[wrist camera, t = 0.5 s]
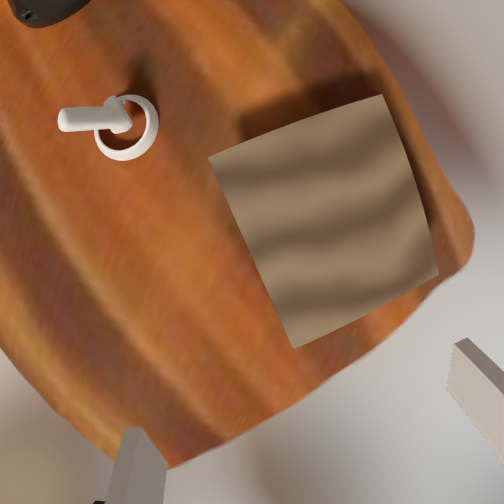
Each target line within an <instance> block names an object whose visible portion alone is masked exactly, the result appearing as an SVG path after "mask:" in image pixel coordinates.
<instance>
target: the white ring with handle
mask: <svg viewBox="0 0 504 504" xmlns="http://www.w3.org/2000/svg"><path fill="white" fill-rule="evenodd" d="M125 100H131V101H134V102H136V103H138V104H139V105H140V106H141V107H142V108H143V110H144V112H145V114H146V118H147V124H146V129H145V132H144V134H143V136H142V137H141V139H140V140H139V141H138V142H137V143H136V144H135V145H134V146H132V147H130V148H128V149H125V150H113V149H110V148H108V147H107V146H106V145H104V144H103V142H102V141H101V139H100V136H99V129H111V131H112V132H113V133H115V134H118V133H122V132H126V131H128V130H129V129H130V128H131V127H132V126H133V123H132V121H131V119H130V117H129V116H128V114H127V112H126V111H125V109H124V107H123V105H122V103H124V104H126V102H125ZM103 104H104V107H70V108H63V109H61V110H60V113H59V116H58V126H59V129H60V130H61V131H64V132H69V131H83V130H94V135H95V140H96V143H97V145H98V147H99V149H100V150H101V151H102V152H103V153H104V154H105V155H106V156H108V157H109V158H111V159H114V160H120V161H125V160H131V159H134V158H136V157H138V156H140V155H142V154H143V153H144V152H145V151H147V150H148V148H149V147H150V146H151V145H152V143H153V142H154V140H155V138H156V135H157V132H158V127H159V119H158V115H157V112H156V109H155V107H154V106H153V105H152V104H151V102H149V101H148V100H147V99H145V98H143V97H141V96H138V95H123V96H120V97H116V96H115V95H113V96H111V97H108V98H107V99H106V100H105V102H104V103H103Z"/></svg>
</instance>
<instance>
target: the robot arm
mask: <svg viewBox="0 0 504 504" xmlns="http://www.w3.org/2000/svg"><path fill="white" fill-rule="evenodd" d="M89 1H90V0H8V3H9V5H10V8H11V10H12V13H13V15H14V16H15V18H16V19H17V20H19V21H20V22H21V23H23V24H24V25H26V26H28V27H31V28H42V27H46V26H50V25H53V24H55V23H58V22H60V21H62V20H64V19H66V18H67V17H69V16H71V15H72V14H74V13H75V12H77V11H78V10H79V9H81V8H82V7H83V6H84V5H85V4H87V3H88V2H89ZM446 390H447V391H448V392H449V393H450V395H451V396H452V397H453V398H454V400H455V401H456V402H457V404H459V406H460V407H461V408H462V410H463V411H464V412H465V414H466V415H467V416H468V418H469V419H470V420H471V422H472V423H473V424H474V425H475V427H476V428H477V429H478V430H479V432H480V433H481V435H482V436H483V437H484V438H485V440H486V441H487V443H488V444H489V445H490V447H491V448H492V450H493V451H494V452H495V453H496V455H497V456H498V458H499V459H500V461H501V462H502V463H503V465H504V372H503V371H502V370H501V369H500V368H499V367H498V366H497V365H496V364H495V363H494V362H493V361H492V360H491V359H490V358H489V357H488V356H486V354H484V353H483V352H482V351H481V350H480V349H479V348H478V347H477V346H476V345H475V344H474V343H472V341H470V340H469V339H468V338H465V339H463V340H461V341H459V342H457V343H455V344H454V347H453V353H452V360H451V366H450V372H449V377H448V383H447V388H446ZM167 465H168V463H167V462H166V461H165V459H164V458H163V457H162V455H161V454H160V453H159V451H158V450H157V449H156V447H155V446H154V444H153V443H152V442H151V440H150V439H149V437H148V436H147V434H146V433H145V432H144V430H143V429H142V427H128V428H125V430H124V433H123V436H122V440H121V443H120V447H119V450H118V454H117V458H116V461H115V465H114V469H113V473H112V476H111V481H110V484H109V488H108V492H107V496H106V500H105V501H95V502H94V503H93V504H163V497H164V488H165V481H166V472H167Z"/></svg>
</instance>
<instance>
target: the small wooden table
mask: <svg viewBox="0 0 504 504" xmlns="http://www.w3.org/2000/svg"><path fill="white" fill-rule="evenodd" d="M208 159H209V161H210V163H211V166H212V168H213V170H214V172H215V175H216V177H217V179H218V181H219V184H220V186H221V188H222V190H223V193H224V195H225V197H226V199H227V202H228V204H229V206H230V208H231V211H232V213H233V215H234V217H235V220H236V222H237V224H238V226H239V229H240V231H241V233H242V235H243V238H244V240H245V242H246V244H247V247H248V249H249V251H250V253H251V256H252V258H253V260H254V262H255V265H256V267H257V269H258V271H259V273H260V276H261V278H262V280H263V282H264V285H265V287H266V289H267V291H268V294H269V296H270V298H271V300H272V303H273V305H274V307H275V309H276V312H277V314H278V316H279V318H280V321H281V323H282V325H283V327H284V329H285V332H286V334H287V336H288V338H289V341H290V343H291V345H292V347H293V349H295V348H298V347H300V346H302V345H304V344H306V343H309V342H311V341H313V340H315V339H317V338H320V337H322V336H324V335H326V334H328V333H330V332H332V331H334V330H336V329H338V328H341V327H343V326H345V325H347V324H349V323H351V322H353V321H355V320H357V319H359V318H361V317H363V316H365V315H367V314H368V313H370V312H372V311H374V310H376V309H378V308H380V307H382V306H384V305H386V304H387V303H389V302H391V301H393V300H395V299H397V298H398V297H400V296H402V295H404V294H406V293H407V292H409V291H411V290H413V289H415V288H416V287H418V286H420V285H421V284H423V283H425V282H427V281H428V280H430V279H432V278H433V277H435V276H437V275H438V274H439V272H438V267H437V262H436V257H435V253H434V248H433V244H432V240H431V236H430V232H429V228H428V224H427V220H426V216H425V213H424V209H423V205H422V202H421V198H420V195H419V192H418V189H417V185H416V182H415V179H414V176H413V173H412V170H411V167H410V164H409V161H408V158H407V155H406V153H405V150H404V147H403V144H402V142H401V139H400V136H399V134H398V131H397V129H396V126H395V124H394V121H393V119H392V116H391V114H390V111H389V109H388V107H387V104H386V102H385V100H384V98H383V95H382V94H380V95H377V96H373V97H370V98H367V99H363V100H360V101H357V102H354V103H350V104H347V105H344V106H341V107H338V108H335V109H332V110H329V111H326V112H323V113H320V114H317V115H314V116H311V117H308V118H305V119H303V120H300V121H297V122H294V123H292V124H289V125H286V126H284V127H281V128H278V129H276V130H273V131H270V132H268V133H265V134H263V135H260V136H258V137H255V138H253V139H250V140H248V141H245V142H243V143H241V144H238V145H236V146H233V147H231V148H229V149H226V150H224V151H222V152H219V153H217V154H215V155H213V156H210V157H208Z"/></svg>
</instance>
